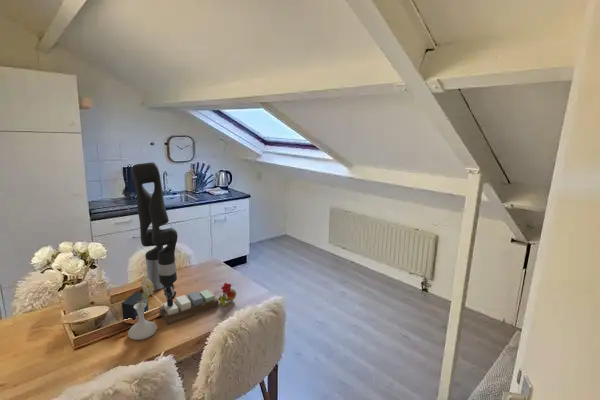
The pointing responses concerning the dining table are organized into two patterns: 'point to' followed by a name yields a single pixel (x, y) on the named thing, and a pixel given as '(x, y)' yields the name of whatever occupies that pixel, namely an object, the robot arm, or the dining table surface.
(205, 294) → the key sage
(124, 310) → the small box
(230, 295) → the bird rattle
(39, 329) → the dining table surface
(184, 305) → the key ivory inner
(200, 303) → the key slate
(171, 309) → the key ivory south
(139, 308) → the flower in vase
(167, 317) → the keybed
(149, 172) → the robot arm
